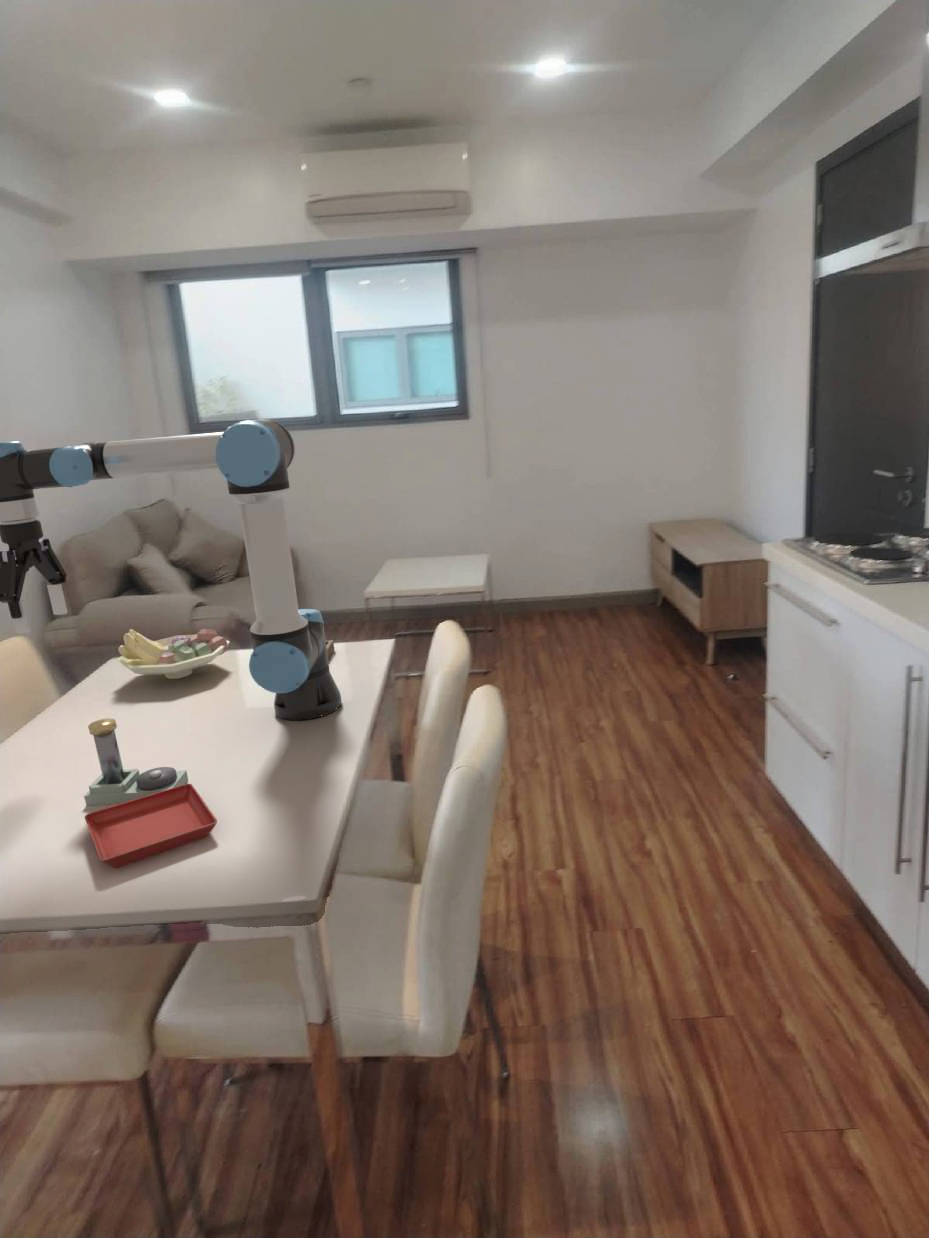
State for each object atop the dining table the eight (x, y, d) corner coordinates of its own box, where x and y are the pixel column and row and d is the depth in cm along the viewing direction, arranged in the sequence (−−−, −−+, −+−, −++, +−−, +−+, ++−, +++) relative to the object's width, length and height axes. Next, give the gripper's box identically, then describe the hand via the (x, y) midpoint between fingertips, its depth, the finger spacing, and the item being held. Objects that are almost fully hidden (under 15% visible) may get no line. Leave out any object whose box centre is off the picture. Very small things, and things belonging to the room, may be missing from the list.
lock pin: (132, 777, 150) (119, 717, 146) (121, 789, 145) (108, 727, 142) (109, 778, 150) (95, 719, 147) (97, 790, 146) (83, 729, 142)
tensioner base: (188, 779, 151) (184, 761, 150) (172, 800, 144) (168, 781, 143) (106, 784, 152) (102, 766, 151) (86, 805, 145) (81, 786, 144)
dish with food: (102, 678, 212) (93, 628, 208) (195, 650, 232) (189, 603, 228) (156, 704, 195) (148, 650, 190) (252, 670, 215) (247, 621, 211)
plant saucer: (193, 797, 145) (190, 780, 144) (222, 838, 130) (218, 820, 129) (87, 831, 136) (83, 814, 135) (104, 880, 121) (100, 861, 120)
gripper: (36, 513, 170) (58, 608, 176) (-41, 533, 146) (-13, 642, 152) (69, 510, 170) (91, 605, 175) (-3, 530, 146) (25, 640, 152)
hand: (43, 623), depth 164 cm, fingers open, 13 cm apart
